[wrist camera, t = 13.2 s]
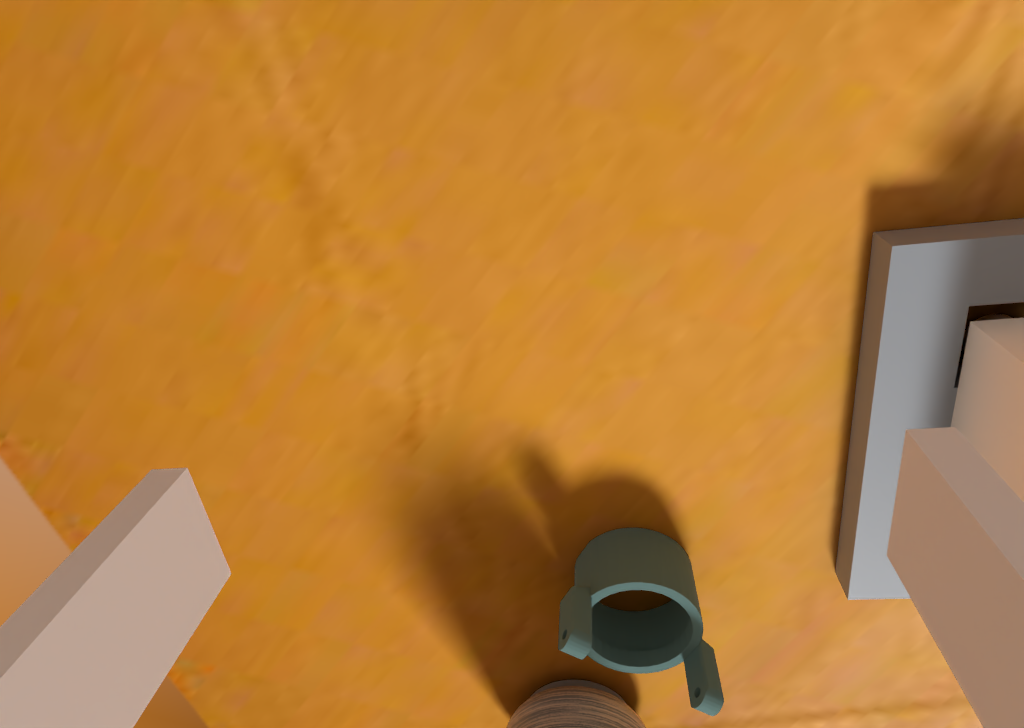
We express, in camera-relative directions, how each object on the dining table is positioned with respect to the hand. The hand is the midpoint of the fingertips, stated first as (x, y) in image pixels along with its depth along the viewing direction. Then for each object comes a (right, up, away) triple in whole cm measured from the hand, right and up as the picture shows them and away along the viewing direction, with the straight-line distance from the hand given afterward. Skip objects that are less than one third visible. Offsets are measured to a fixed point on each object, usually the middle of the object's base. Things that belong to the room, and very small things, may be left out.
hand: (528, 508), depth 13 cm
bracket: (+8, -12, +36) cm, 39 cm away
